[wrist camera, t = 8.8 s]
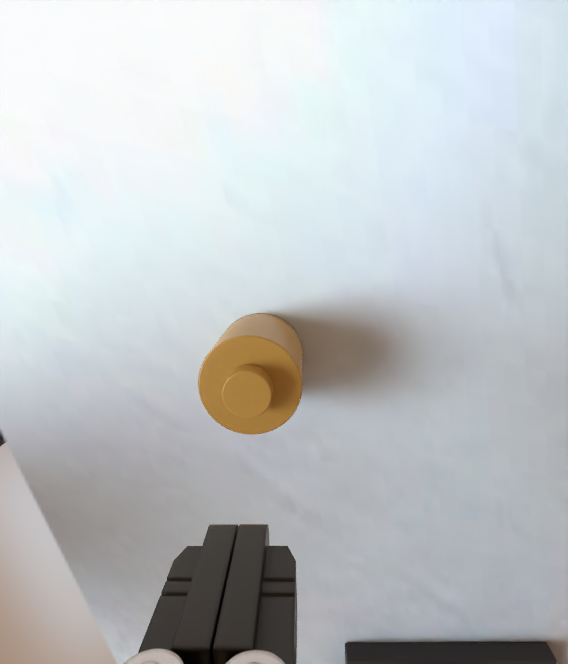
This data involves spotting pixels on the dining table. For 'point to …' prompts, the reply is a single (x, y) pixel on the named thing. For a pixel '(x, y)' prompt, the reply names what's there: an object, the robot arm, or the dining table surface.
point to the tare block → (449, 653)
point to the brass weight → (253, 375)
